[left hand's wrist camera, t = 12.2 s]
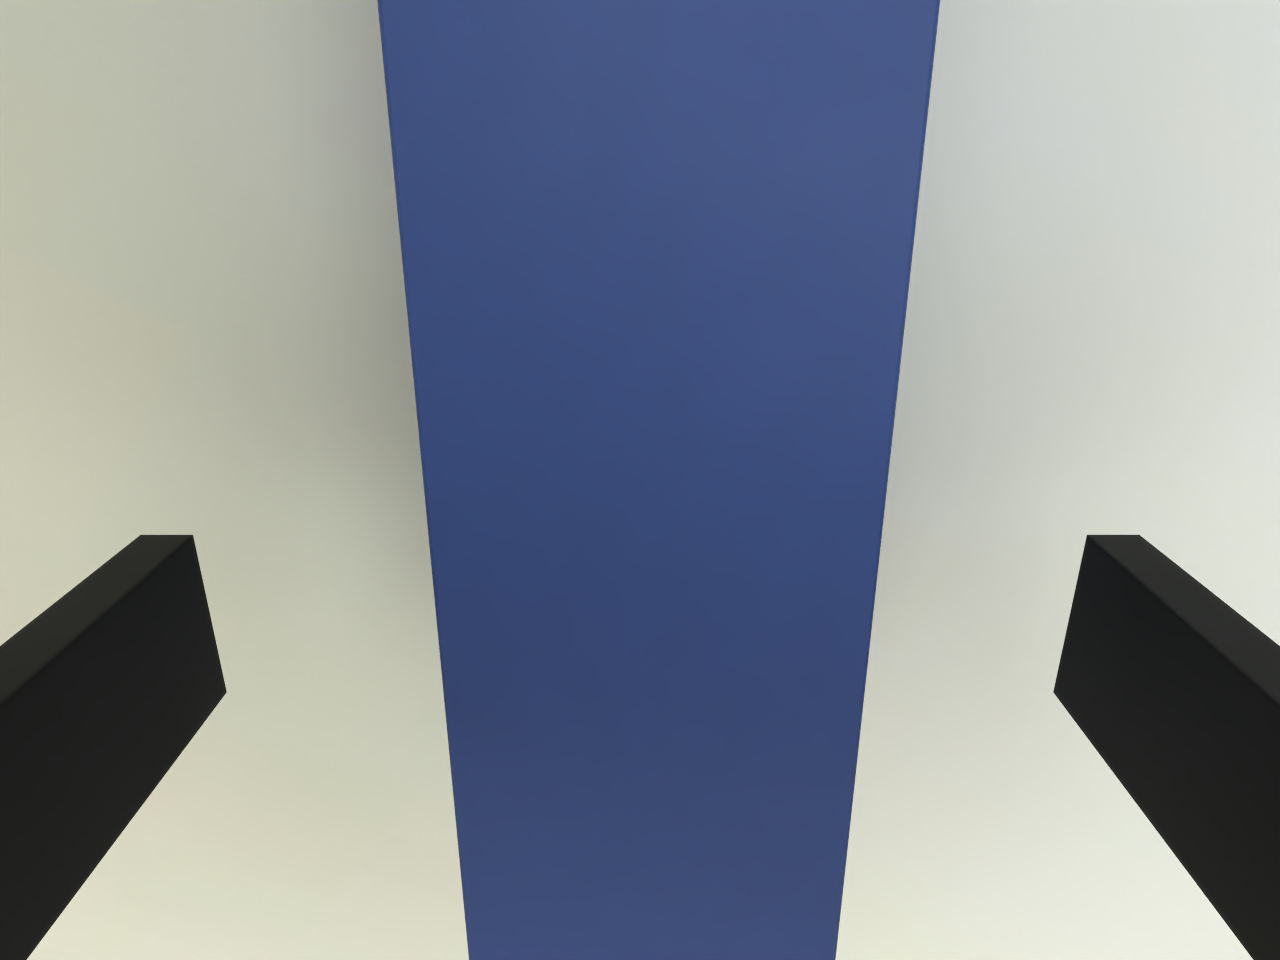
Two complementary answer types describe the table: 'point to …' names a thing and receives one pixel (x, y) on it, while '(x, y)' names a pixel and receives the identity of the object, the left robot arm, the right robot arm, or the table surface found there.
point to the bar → (655, 446)
